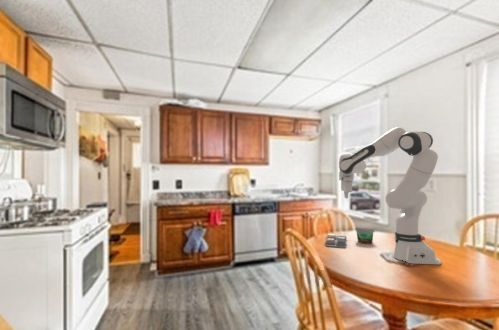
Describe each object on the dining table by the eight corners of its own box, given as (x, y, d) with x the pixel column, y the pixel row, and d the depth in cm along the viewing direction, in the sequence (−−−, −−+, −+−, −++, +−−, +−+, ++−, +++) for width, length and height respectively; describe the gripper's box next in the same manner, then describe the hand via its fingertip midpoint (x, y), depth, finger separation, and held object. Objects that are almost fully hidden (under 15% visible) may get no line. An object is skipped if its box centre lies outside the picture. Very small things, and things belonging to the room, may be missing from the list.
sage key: (345, 238, 194) (345, 234, 194) (345, 239, 190) (345, 236, 190) (338, 237, 195) (338, 234, 196) (338, 239, 191) (338, 235, 191)
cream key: (334, 237, 196) (334, 233, 196) (334, 238, 192) (334, 235, 192) (328, 237, 198) (328, 233, 198) (328, 238, 194) (328, 234, 194)
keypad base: (346, 238, 198) (346, 235, 198) (346, 248, 172) (346, 244, 172) (327, 236, 203) (327, 233, 203) (325, 246, 176) (325, 243, 176)
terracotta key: (334, 242, 183) (334, 238, 183) (333, 244, 179) (333, 240, 179) (327, 241, 185) (327, 238, 185) (327, 243, 180) (326, 239, 180)
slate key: (345, 241, 181) (345, 237, 181) (345, 242, 177) (345, 238, 177) (338, 240, 182) (338, 236, 182) (337, 242, 178) (337, 238, 178)
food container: (356, 243, 183) (356, 228, 184) (355, 241, 189) (355, 227, 190) (376, 244, 180) (375, 229, 180) (374, 242, 186) (374, 227, 186)
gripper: (338, 177, 195) (339, 196, 195) (343, 178, 175) (344, 199, 174) (347, 177, 194) (348, 196, 193) (353, 178, 174) (354, 199, 173)
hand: (346, 198), depth 184 cm, fingers closed
